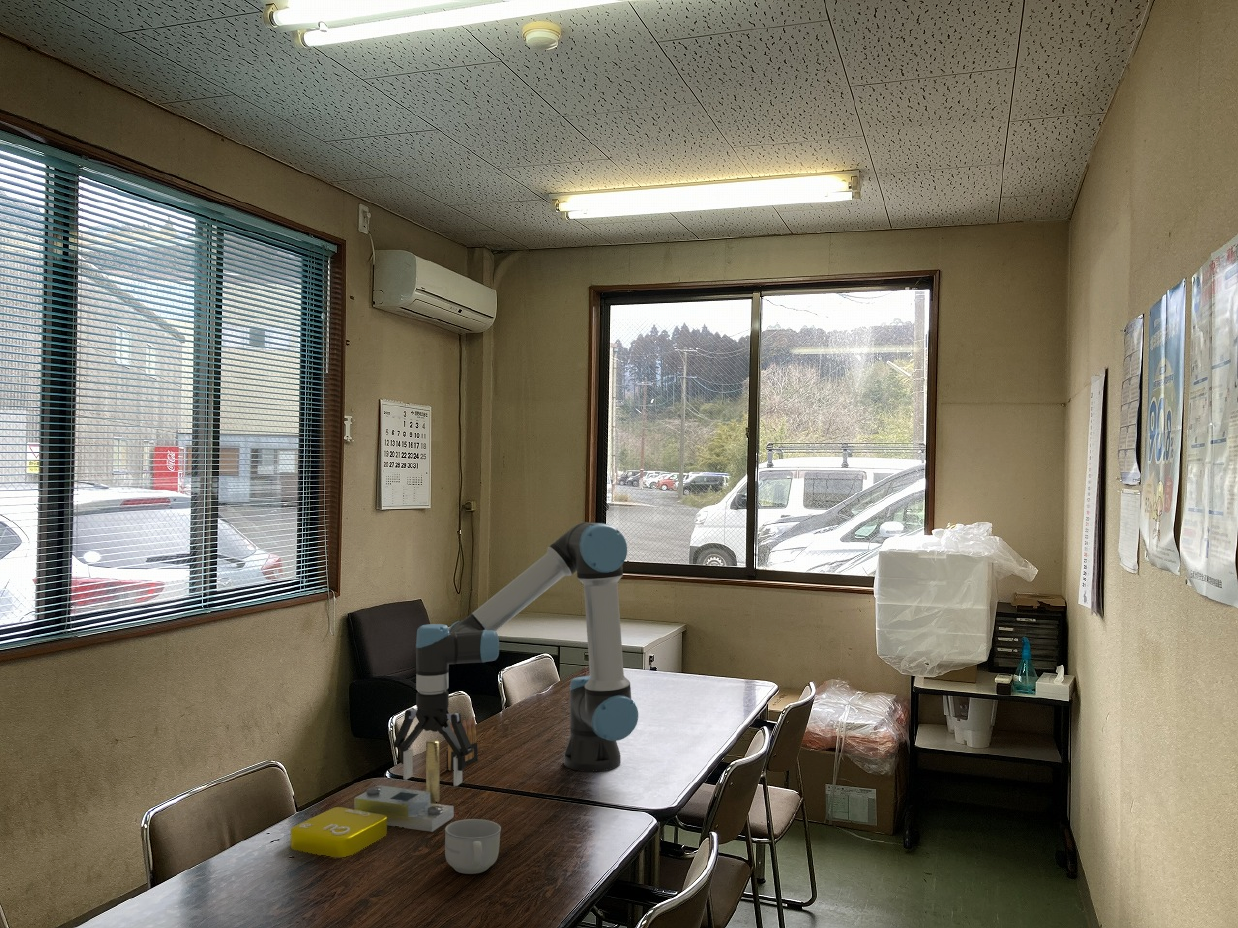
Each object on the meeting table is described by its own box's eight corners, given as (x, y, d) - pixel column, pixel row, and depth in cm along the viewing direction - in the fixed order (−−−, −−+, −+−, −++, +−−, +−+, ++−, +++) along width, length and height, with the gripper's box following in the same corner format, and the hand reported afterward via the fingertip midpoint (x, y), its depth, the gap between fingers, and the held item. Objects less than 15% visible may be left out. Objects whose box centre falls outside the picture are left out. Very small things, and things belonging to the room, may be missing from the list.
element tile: (391, 835, 196) (391, 812, 196) (343, 861, 182) (343, 837, 183) (336, 824, 202) (336, 803, 202) (286, 850, 189) (286, 826, 189)
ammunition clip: (451, 771, 237) (451, 725, 238) (446, 770, 238) (446, 724, 239) (478, 760, 247) (477, 716, 247) (472, 759, 248) (472, 715, 248)
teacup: (448, 857, 183) (447, 817, 184) (502, 855, 184) (502, 815, 184) (440, 888, 170) (440, 844, 170) (499, 885, 170) (498, 842, 171)
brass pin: (441, 799, 217) (441, 740, 217) (434, 803, 214) (434, 743, 214) (430, 798, 218) (430, 739, 218) (423, 802, 215) (423, 742, 215)
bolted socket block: (453, 817, 205) (453, 791, 205) (432, 831, 197) (432, 804, 197) (378, 806, 212) (378, 781, 212) (354, 820, 204) (354, 794, 204)
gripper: (486, 691, 215) (487, 781, 215) (396, 683, 224) (396, 770, 224) (471, 698, 208) (471, 791, 208) (378, 690, 217) (378, 779, 217)
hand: (432, 780), depth 216 cm, fingers open, 13 cm apart
